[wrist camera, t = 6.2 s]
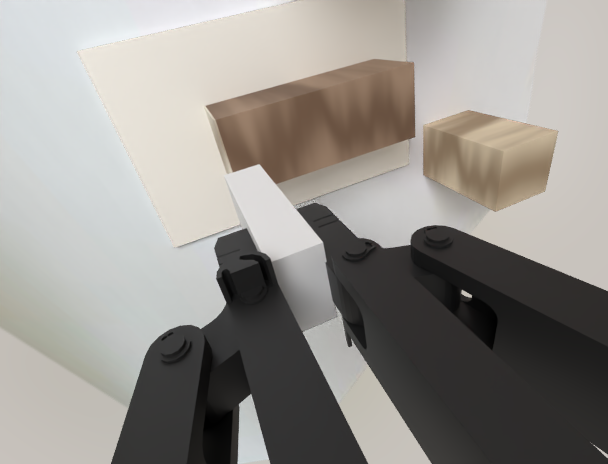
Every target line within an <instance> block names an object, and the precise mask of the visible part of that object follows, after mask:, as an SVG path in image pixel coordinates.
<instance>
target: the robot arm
mask: <svg viewBox="0 0 608 464" xmlns="http://www.w3.org/2000/svg"><path fill="white" fill-rule="evenodd" d="M224 177H225V180H226V183H227V186H228V189H229V192H230V195H231V198H232V201H233V204H234V207H235V210H236V213H237V216H238V218H239V221H240V224H241V227H242V230H240V231H237V232H234V233H231V234H228V235H226V236H223V237H220V238H218V240H217V243H216V245H215V248H214V249H215V252H216V256H217V260H218V263H219V267H220V268H219V269H218V271H217V277H216V279H217V282H218V284H219V286H220V289H221V291H222V293H223V296H224V298H225V300H226V302H227V303H226V306H225V307H224V309H223V311H222V312H221V313H220V314H219V316H218V317H217V318H215V319H214V320H213V321H212V322H211V323H209V324H208V325H206V326H205V327H203V328H202V329H200V328H199V327H195V326H192V325H184V326H178V327H176V328H173V329H170V330H168V331H167V332H165V333H164V334H162V335H161V336H159V337H158V338H157V339H156V340H155V341H154V343H153V344H152V345H151V346H150V348H149V350H148V351H147V353H146V355H145V358H144V361H143V365H142V368H141V371H140V374H139V377H138V380H137V383H136V387H135V390H134V393H133V396H132V399H131V402H130V406H129V409H128V412H127V415H126V418H125V421H124V425H123V428H122V431H121V434H120V437H119V441H118V443H117V447H116V450H115V453H114V456H113V459H112V462H111V464H237V461H238V433H239V403H241V402H242V401H243V400H244V399H245V398H246V397H248V396H249V395H250V394H252V397H253V401H254V405H255V408H256V412H257V416H258V420H259V423H260V427H261V431H262V434H263V438H264V442H265V445H266V449H267V453H268V457H269V460H270V464H368V463H367V461H366V459H365V457H364V455H363V453H362V451H361V449H360V447H359V445H358V443H357V441H356V439H355V437H354V435H353V433H352V431H351V429H350V427H349V425H348V423H347V421H346V419H345V417H344V415H343V413H342V411H341V409H340V407H339V405H338V403H337V401H336V399H335V397H334V395H333V393H332V391H331V389H330V387H329V385H328V383H327V381H326V379H325V377H324V375H323V373H322V371H321V369H320V367H319V365H318V363H317V361H316V359H315V357H314V355H313V353H312V351H311V349H310V347H309V345H308V343H307V341H306V339H305V337H304V335H303V333H302V332H303V331H305V330H308V329H310V328H312V327H315V326H317V325H319V324H322V323H324V322H326V321H329V320H331V319H333V318H335V317H337V313H336V308H335V305H336V307H337V308H338V310H339V311H340V313H341V314H342V318H343V324H344V329H345V335H346V341H347V344H348V347H350V346H352V342H351V339H352V340H353V342H354V344H355V345H356V347H357V348H358V350H359V351H360V353H361V354H362V356H363V358H364V359H365V361H366V362H367V364H368V365H369V367H370V368H371V370H372V371H373V373H374V374H375V376H376V378H377V379H378V381H379V382H380V384H381V385H382V387H383V389H384V390H385V392H386V393H387V395H388V396H389V398H390V399H391V401H392V403H393V404H394V406H395V407H396V409H397V410H398V412H399V413H400V415H401V416H402V418H403V420H404V421H405V423H406V424H407V426H408V427H409V429H410V431H411V432H412V433H413V435H414V437H415V438H416V440H417V441H418V443H419V444H420V446H421V448H422V449H423V451H424V452H425V454H426V455H427V457H428V458H429V460H430V461H431V463H432V464H608V458H606V457H605V456H604V455H603V454H602V453H601V452H600V451H599V450H598V449H597V448H596V447H595V446H597V447H598V448H599V449H601V450H602V451H604V452H605V453H607V454H608V291H606V290H603V289H601V288H599V287H596V286H594V285H591V284H589V283H586V282H584V281H581V280H579V279H576V278H574V277H572V276H569V275H566V274H564V273H562V272H559V271H557V270H555V269H552V268H549V267H547V266H545V265H542V264H540V263H537V262H535V261H532V260H530V259H527V258H525V257H523V256H520V255H518V254H515V253H513V252H510V251H508V250H505V249H503V248H501V247H498V246H496V245H493V244H491V243H488V242H486V241H483V240H481V239H479V238H476V237H474V236H471V235H469V234H466V233H464V232H461V231H459V230H457V229H454V228H451V227H447V226H437V225H433V226H427V227H423V228H421V229H419V230H417V231H416V232H415V233H414V234H413V235H412V237H411V245H407V246H401V247H394V248H382V247H381V246H380V245H379V244H377V243H376V242H374V241H372V240H369V239H364V238H357V237H356V236H355V235H354V234H353V233H352V232H351V231H350V230H349V229H348V228H347V227H346V226H345V225H344V224H343V223H342V222H341V221H339V219H338V218H337V217H336V216H335V215H333V213H332V212H331V211H330V210H329V209H328V208H327V207H326V206H323V205H320V204H317V203H313V204H310V205H307V206H304V207H302V208H299V209H295V207H294V206H293V205H292V204H291V202H290V201H289V200H288V199H287V198H286V196H285V195H284V194H283V193H282V191H281V190H280V189H279V188H278V186H277V185H276V184H275V183H274V182H273V180H272V179H271V178H270V177H269V175H268V174H267V173H266V172H265V171H264V169H263V168H262V167H261V166H260V164H258V165H255V166H252V167H249V168H246V169H243V170H239V171H236V172H233V173H230V174H227V175H224ZM462 290H464V291H466V292H467V293H469V294H471V295H472V298H469V297H466V296H464V295H462V294H461V291H462ZM590 442H591V443H590ZM593 444H594V445H595V446H593Z"/></svg>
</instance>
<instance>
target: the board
mask: <svg viewBox="0 0 608 464" xmlns="http://www.w3.org/2000/svg"><path fill="white" fill-rule="evenodd" d="M77 53H78V55H79V57H80V59H81V61H82V63H83V65H84V67H85V69H86V71H87V73H88V75H89V77H90V79H91V81H92V83H93V85H94V87H95V89H96V91H97V93H98V95H99V97H100V99H101V101H102V103H103V105H104V107H105V109H106V112H107V114H108V116H109V118H110V120H111V122H112V124H113V126H114V128H115V130H116V132H117V134H118V136H119V138H120V140H121V142H122V144H123V146H124V148H125V150H126V152H127V154H128V156H129V158H130V160H131V162H132V164H133V166H134V168H135V170H136V172H137V174H138V176H139V178H140V180H141V182H142V184H143V186H144V188H145V190H146V192H147V194H148V196H149V198H150V200H151V202H152V204H153V206H154V208H155V210H156V212H157V214H158V216H159V218H160V220H161V222H162V224H163V226H164V228H165V230H166V232H167V234H168V236H169V238H170V240H171V242H172V244H173V246H174V248H176V247H179V246H181V245H184V244H187V243H190V242H193V241H195V240H198V239H201V238H204V237H207V236H210V235H212V234H215V233H218V232H221V231H224V230H226V229H229V228H232V227H235V226H238V225H240V221H239V218H238V216H237V213H236V210H235V207H234V204H233V201H232V198H231V195H230V192H229V189H228V186H227V183H226V180H225V177H224V175H227V173H226V170H225V167H224V164H223V161H222V158H221V155H220V152H219V150H218V147H217V144H216V141H215V138H214V135H213V132H212V129H211V126H210V123H209V120H208V117H207V114H206V112H205V109H204V106H206V105H210V104H214V103H217V102H221V101H224V100H228V99H232V98H235V97H239V96H242V95H246V94H249V93H253V92H257V91H260V90H264V89H267V88H271V87H275V86H278V85H282V84H285V83H289V82H293V81H296V80H300V79H303V78H307V77H311V76H314V75H318V74H321V73H325V72H328V71H332V70H336V69H339V68H343V67H346V66H350V65H354V64H357V63H361V62H364V61H368V60H372V59H382V60H393V61H403V62H407V54H406V13H405V0H299V1H294V2H290V3H286V4H281V5H277V6H272V7H268V8H264V9H259V10H255V11H251V12H246V13H242V14H237V15H233V16H229V17H224V18H220V19H215V20H211V21H207V22H202V23H198V24H194V25H189V26H185V27H180V28H176V29H172V30H167V31H163V32H159V33H154V34H150V35H145V36H141V37H137V38H132V39H128V40H124V41H119V42H115V43H110V44H106V45H102V46H97V47H93V48H88V49H84V50H80V51H77ZM406 165H409V139H408V140H405V141H402V142H399V143H396V144H393V145H390V146H387V147H384V148H381V149H378V150H375V151H372V152H369V153H367V154H364V155H361V156H358V157H355V158H352V159H349V160H346V161H343V162H340V163H337V164H334V165H331V166H328V167H325V168H322V169H319V170H316V171H313V172H311V173H308V174H305V175H302V176H299V177H296V178H293V179H290V180H287V181H284V182H281V183H278V184H276V185H277V186H278V188H279V189H280V190H281V191H282V193H283V194H284V195H285V196H286V198H287V199H288V200H289V201H290V202H291V204H292V205H293V206H294V205H296V204H299V203H302V202H305V201H308V200H310V199H313V198H316V197H319V196H322V195H324V194H327V193H330V192H333V191H336V190H338V189H341V188H344V187H347V186H350V185H353V184H355V183H358V182H361V181H364V180H367V179H369V178H372V177H375V176H378V175H381V174H383V173H386V172H389V171H392V170H395V169H397V168H400V167H403V166H406Z"/></svg>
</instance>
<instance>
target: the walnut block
mask: <svg viewBox="0 0 608 464" xmlns="http://www.w3.org/2000/svg"><path fill="white" fill-rule="evenodd" d="M204 109H205V112H206V114H207V117H208V120H209V123H210V126H211V129H212V132H213V135H214V138H215V141H216V144H217V147H218V150H219V152H220V155H221V158H222V161H223V164H224V167H225V170H226V173H227V174H230V173H233V172H236V171H239V170H243V169H246V168H249V167H252V166H255V165H258V164H260V166H261V167H262V168H263V169H264V171H265V172H266V173H267V174H268V175H269V177H270V178H271V179H272V180H273V182H274V183H275V184H278V183H281V182H284V181H287V180H290V179H293V178H296V177H299V176H302V175H305V174H308V173H311V172H313V171H316V170H319V169H322V168H325V167H328V166H331V165H334V164H337V163H340V162H343V161H346V160H349V159H352V158H355V157H358V156H361V155H364V154H367V153H369V152H372V151H375V150H378V149H381V148H384V147H387V146H390V145H393V144H396V143H399V142H402V141H405V140H408V139H411V138H414V137H415V94H414V62H403V61H393V60H382V59H372V60H368V61H364V62H361V63H357V64H354V65H350V66H346V67H343V68H339V69H336V70H332V71H328V72H325V73H321V74H318V75H314V76H311V77H307V78H303V79H300V80H296V81H293V82H289V83H285V84H282V85H278V86H275V87H271V88H267V89H264V90H260V91H257V92H253V93H249V94H246V95H242V96H239V97H235V98H232V99H228V100H224V101H221V102H217V103H214V104H210V105H206V106H204Z"/></svg>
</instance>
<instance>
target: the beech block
mask: <svg viewBox="0 0 608 464" xmlns="http://www.w3.org/2000/svg"><path fill="white" fill-rule="evenodd" d="M557 134H558V131H556V130H551V129H547V128H543V127H538V126H534V125H530V124H526V123H521V122H517V121H513V120H508V119H504V118H500V117H495V116H491V115H487V114H482V113H478V112H474V111H469V110H468V111H465V112H462V113H459V114H456V115H453V116H450V117H447V118H444V119H441V120H438V121H435V122H432V123H429V124H426V125H423V175H425V176H426V177H428V178H430V179H432V180H434V181H436V182H438V183H440V184H442V185H444V186H446V187H448V188H450V189H452V190H454V191H456V192H458V193H460V194H462V195H464V196H466V197H467V198H469V199H471V200H473V201H475V202H477V203H479V204H481V205H483V206H485V207H487V208H489V209H491V210H493V211H495V212H496V211H498V210H501V209H503V208H506V207H508V206H511V205H513V204H516V203H518V202H520V201H523V200H525V199H528V198H530V197H532V196H535V195H537V194H540V193H542V192H545V189H546V184H547V180H548V176H549V171H550V167H551V162H552V157H553V153H554V148H555V144H556V139H557Z"/></svg>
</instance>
